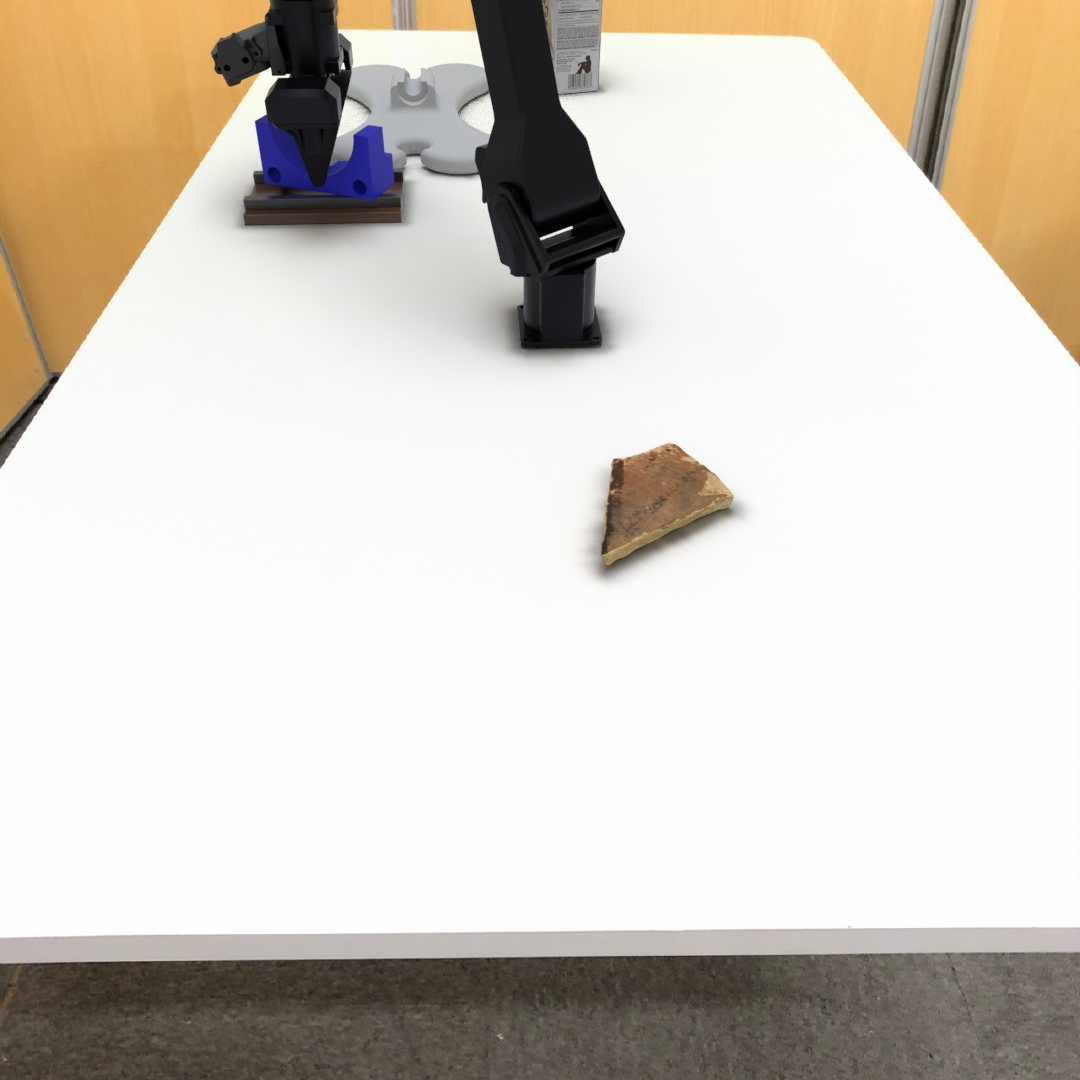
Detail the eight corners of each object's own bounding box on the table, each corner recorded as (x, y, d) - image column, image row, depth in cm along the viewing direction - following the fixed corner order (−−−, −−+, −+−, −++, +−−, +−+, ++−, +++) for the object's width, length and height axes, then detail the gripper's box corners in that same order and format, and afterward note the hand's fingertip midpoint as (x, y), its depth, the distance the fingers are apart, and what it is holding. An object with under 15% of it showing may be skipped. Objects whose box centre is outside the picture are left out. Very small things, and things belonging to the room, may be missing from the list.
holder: (490, 77, 138) (489, 36, 135) (504, 175, 112) (503, 127, 109) (342, 80, 137) (338, 38, 134) (322, 179, 111) (316, 131, 108)
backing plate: (401, 222, 103) (400, 201, 101) (244, 225, 102) (241, 204, 100) (404, 182, 110) (403, 163, 109) (259, 185, 109) (255, 166, 108)
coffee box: (530, 74, 139) (531, -65, 129) (577, 70, 141) (581, -68, 130) (552, 95, 133) (554, -50, 122) (600, 91, 134) (606, -53, 124)
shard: (600, 573, 63) (601, 551, 62) (529, 508, 68) (529, 485, 67) (736, 511, 68) (739, 489, 67) (661, 454, 73) (663, 432, 72)
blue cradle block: (394, 183, 105) (389, 121, 101) (373, 200, 101) (367, 137, 98) (288, 167, 108) (279, 106, 104) (264, 183, 105) (254, 121, 101)
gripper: (226, -30, 101) (253, 136, 111) (189, 22, 86) (224, 207, 96) (344, -31, 101) (361, 135, 111) (327, 20, 87) (347, 205, 97)
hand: (323, 168), depth 104 cm, fingers open, 9 cm apart
